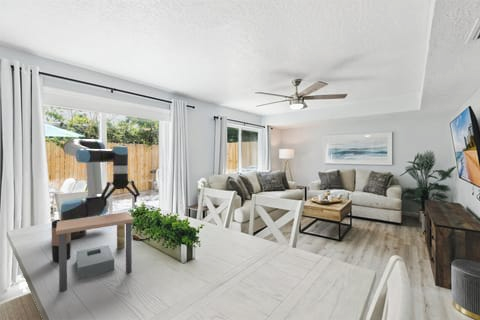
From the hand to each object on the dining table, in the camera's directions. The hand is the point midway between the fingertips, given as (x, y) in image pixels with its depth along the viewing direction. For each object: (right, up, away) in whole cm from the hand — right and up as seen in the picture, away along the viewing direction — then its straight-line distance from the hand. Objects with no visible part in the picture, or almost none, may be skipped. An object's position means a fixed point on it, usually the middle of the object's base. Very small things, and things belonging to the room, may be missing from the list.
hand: (120, 209), depth 130 cm
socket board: (-2, -23, -20) cm, 30 cm away
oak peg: (0, -22, +1) cm, 22 cm away
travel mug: (-23, -23, -14) cm, 35 cm away
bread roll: (+5, -22, +17) cm, 29 cm away
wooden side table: (+4, -23, -27) cm, 36 cm away
